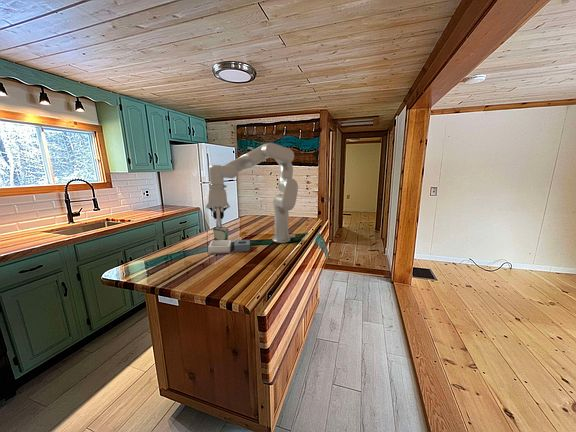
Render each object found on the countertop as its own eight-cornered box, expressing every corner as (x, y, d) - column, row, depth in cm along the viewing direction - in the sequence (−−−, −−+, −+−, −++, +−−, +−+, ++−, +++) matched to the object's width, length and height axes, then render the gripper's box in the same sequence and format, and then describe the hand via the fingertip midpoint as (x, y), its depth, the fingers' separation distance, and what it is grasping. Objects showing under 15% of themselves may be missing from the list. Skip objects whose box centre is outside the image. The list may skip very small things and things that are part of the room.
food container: (233, 242, 153) (233, 228, 151) (226, 245, 148) (225, 230, 146) (220, 239, 159) (219, 225, 157) (213, 242, 154) (212, 227, 152)
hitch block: (249, 246, 147) (249, 239, 146) (249, 250, 139) (249, 244, 138) (235, 246, 146) (235, 240, 145) (234, 251, 137) (234, 245, 136)
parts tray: (231, 246, 147) (231, 239, 146) (229, 252, 135) (229, 246, 134) (211, 246, 145) (211, 240, 144) (208, 253, 133) (208, 247, 133)
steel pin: (222, 225, 139) (221, 206, 136) (221, 227, 136) (220, 207, 133) (216, 226, 138) (215, 206, 136) (215, 227, 135) (214, 207, 133)
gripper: (232, 186, 137) (233, 217, 141) (203, 186, 135) (205, 217, 138) (231, 187, 130) (232, 219, 134) (200, 187, 127) (202, 220, 131)
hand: (218, 218), depth 136 cm, fingers closed on steel pin, 3 cm apart
